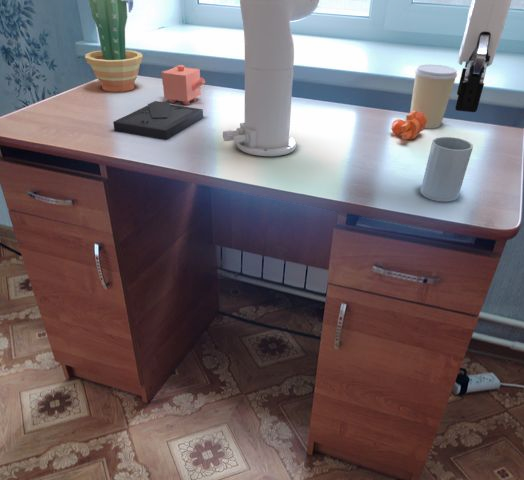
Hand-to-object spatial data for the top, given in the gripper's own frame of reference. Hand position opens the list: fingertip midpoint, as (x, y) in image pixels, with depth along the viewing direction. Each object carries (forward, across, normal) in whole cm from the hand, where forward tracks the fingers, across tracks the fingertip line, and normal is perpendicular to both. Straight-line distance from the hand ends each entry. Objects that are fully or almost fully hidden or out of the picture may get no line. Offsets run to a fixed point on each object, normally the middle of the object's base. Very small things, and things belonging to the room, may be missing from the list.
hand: (465, 102), depth 82 cm
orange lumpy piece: (+15, -31, -10) cm, 36 cm away
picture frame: (+15, -16, -65) cm, 69 cm away
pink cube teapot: (+14, -36, -68) cm, 78 cm away
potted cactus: (+14, -41, -90) cm, 100 cm away
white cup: (+16, 0, -1) cm, 16 cm away
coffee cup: (+15, -43, -6) cm, 46 cm away
